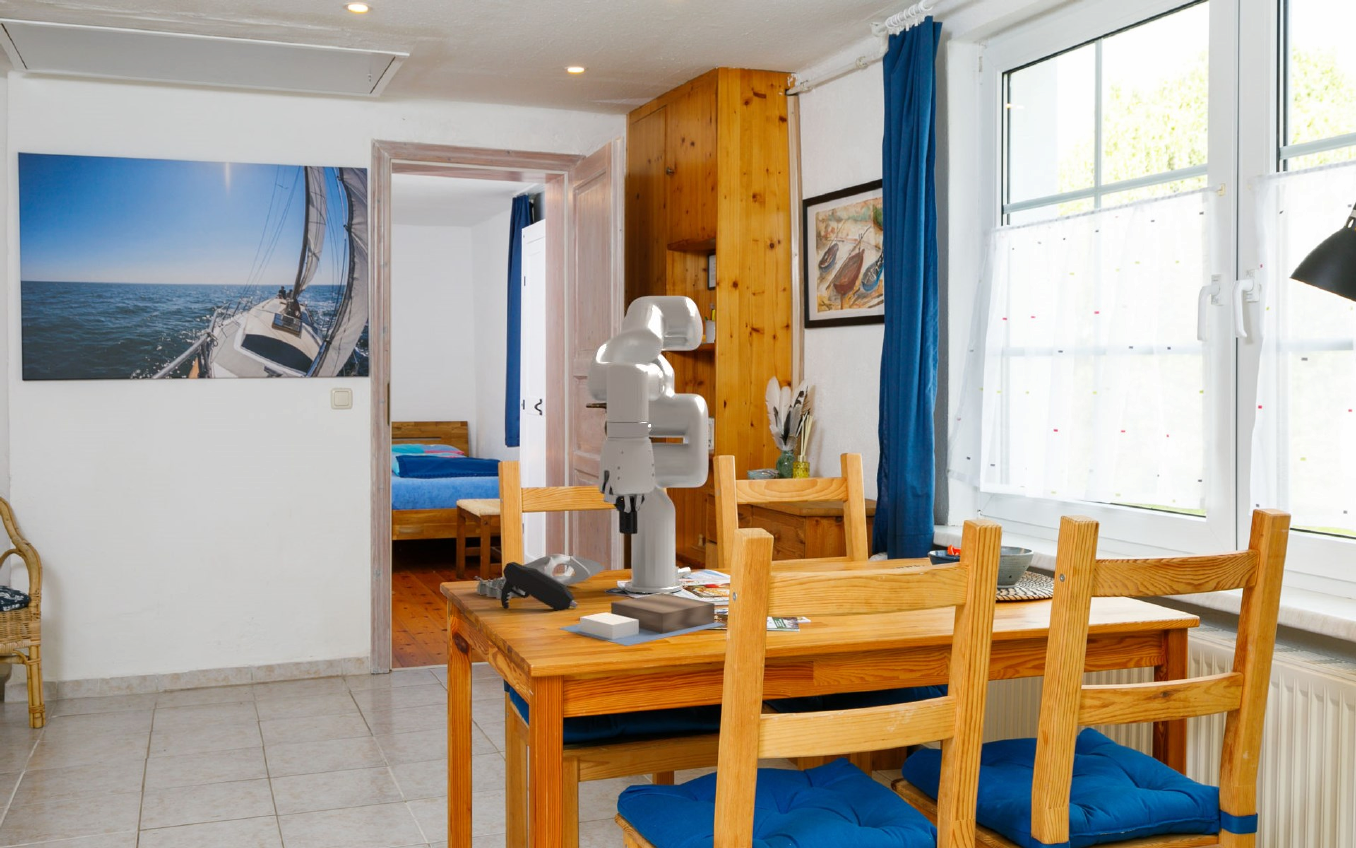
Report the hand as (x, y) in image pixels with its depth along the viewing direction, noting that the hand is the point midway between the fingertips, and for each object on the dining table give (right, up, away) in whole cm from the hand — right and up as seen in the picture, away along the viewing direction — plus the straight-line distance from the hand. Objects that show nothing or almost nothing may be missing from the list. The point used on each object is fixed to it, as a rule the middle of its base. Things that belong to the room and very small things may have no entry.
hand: (628, 533), depth 201 cm
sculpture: (-17, -16, +48) cm, 53 cm away
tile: (-3, -15, -4) cm, 16 cm away
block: (+6, -17, +4) cm, 19 cm away
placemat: (+2, -17, +1) cm, 18 cm away
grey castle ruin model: (-28, -17, +35) cm, 48 cm away
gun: (-18, -17, +19) cm, 31 cm away
